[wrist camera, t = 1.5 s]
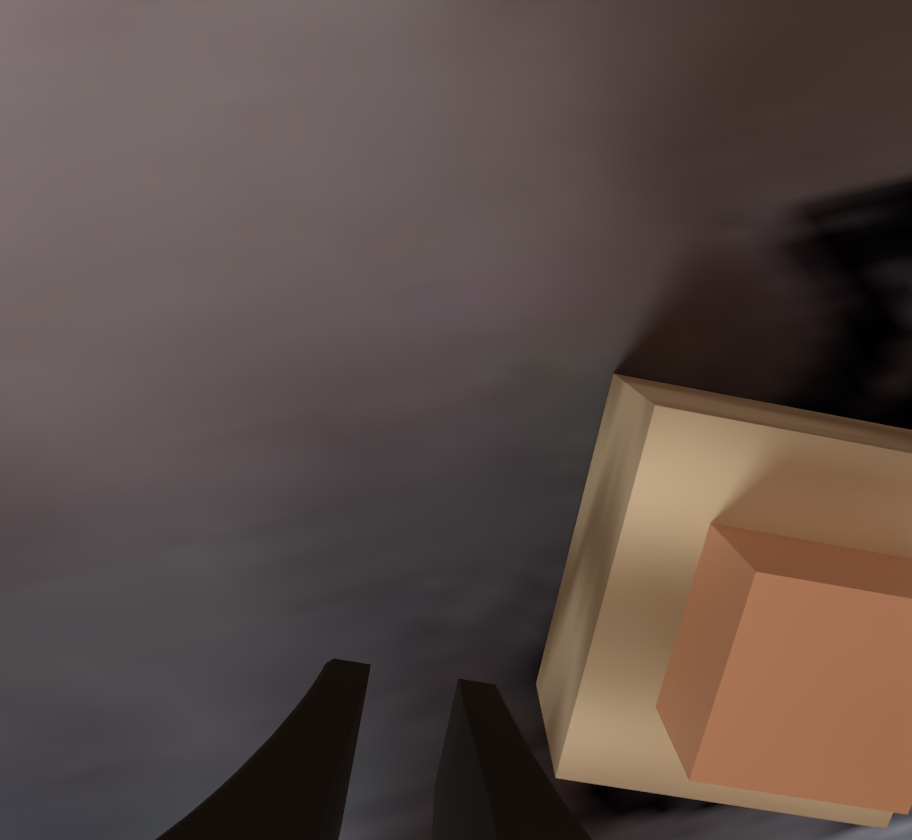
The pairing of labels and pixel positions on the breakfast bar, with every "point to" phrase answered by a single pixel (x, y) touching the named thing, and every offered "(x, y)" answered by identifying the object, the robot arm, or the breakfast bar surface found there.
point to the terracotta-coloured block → (795, 671)
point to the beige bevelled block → (695, 561)
